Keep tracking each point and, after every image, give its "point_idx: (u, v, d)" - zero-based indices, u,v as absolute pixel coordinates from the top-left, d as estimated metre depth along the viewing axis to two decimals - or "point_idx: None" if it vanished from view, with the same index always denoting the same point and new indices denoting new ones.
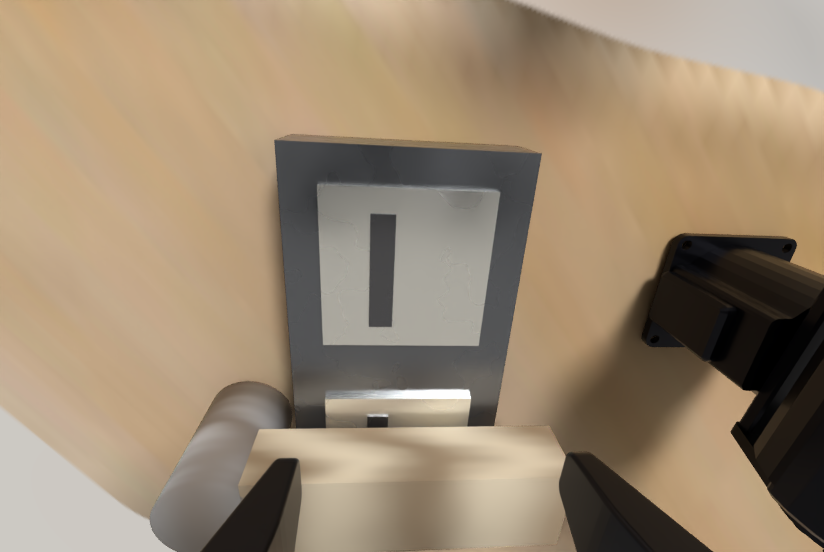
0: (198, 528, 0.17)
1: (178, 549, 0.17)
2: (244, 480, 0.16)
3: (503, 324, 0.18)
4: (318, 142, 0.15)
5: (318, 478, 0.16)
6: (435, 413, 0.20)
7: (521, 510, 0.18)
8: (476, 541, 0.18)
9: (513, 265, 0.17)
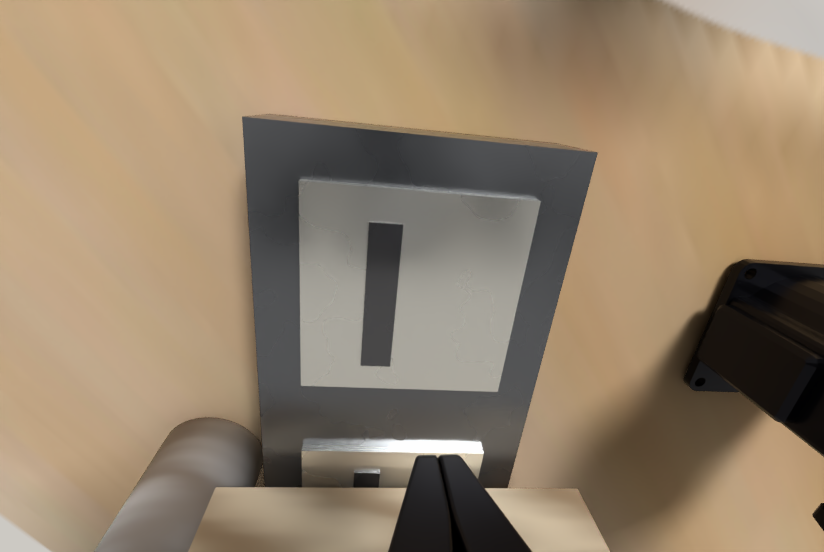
0: None
1: None
2: None
3: (529, 366, 0.15)
4: (302, 123, 0.11)
5: None
6: None
7: None
8: None
9: (548, 294, 0.13)
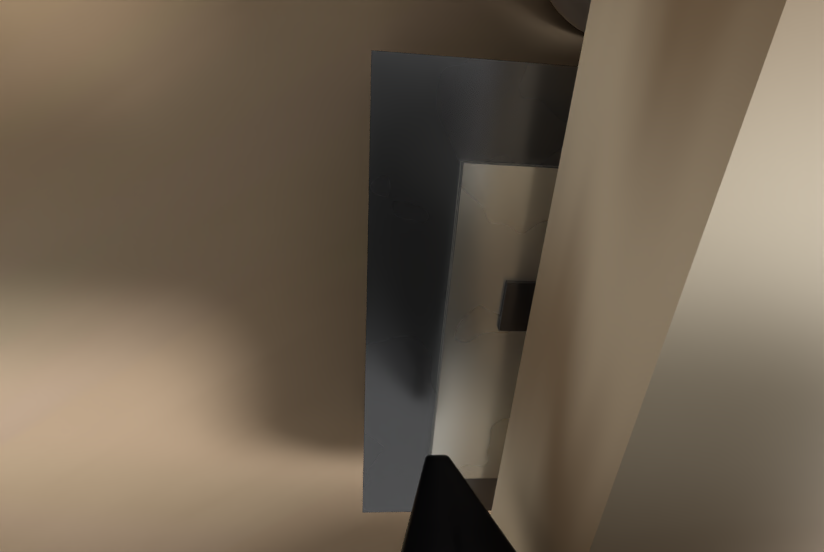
0: None
1: None
2: None
3: None
4: None
5: None
6: None
7: None
8: None
9: None
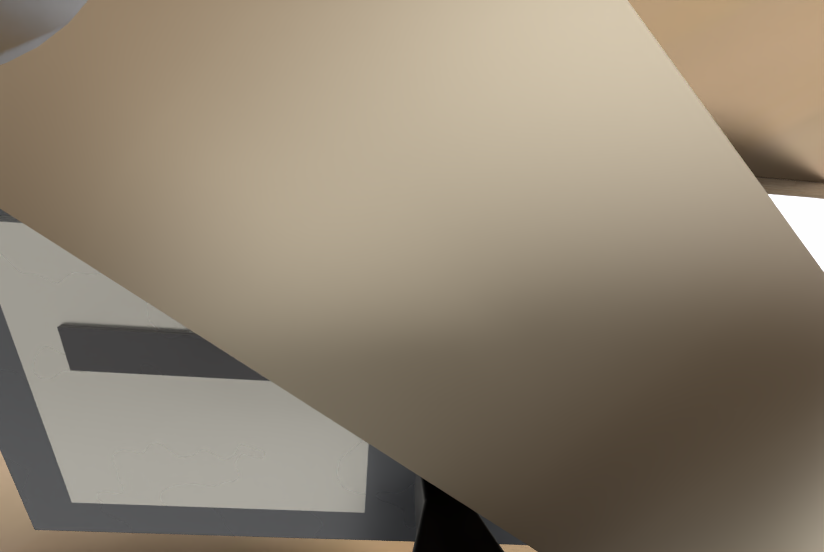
0: None
1: None
2: None
3: (509, 535, 0.11)
4: None
5: None
6: (327, 462, 0.09)
7: None
8: None
9: None
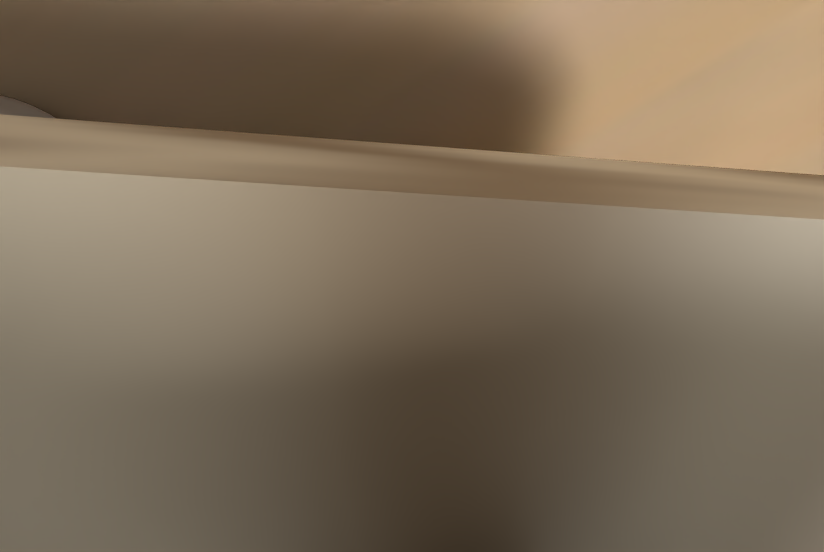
0: None
1: None
2: None
3: None
4: None
5: None
6: None
7: None
8: (655, 538, 0.05)
9: None
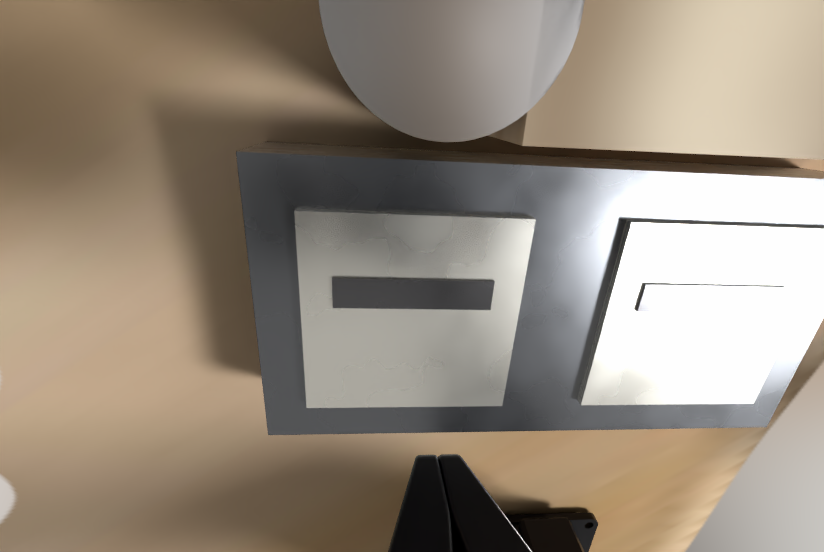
0: (431, 17, 0.07)
1: (370, 98, 0.07)
2: None
3: (595, 422, 0.16)
4: None
5: None
6: (483, 368, 0.14)
7: None
8: None
9: (663, 421, 0.16)
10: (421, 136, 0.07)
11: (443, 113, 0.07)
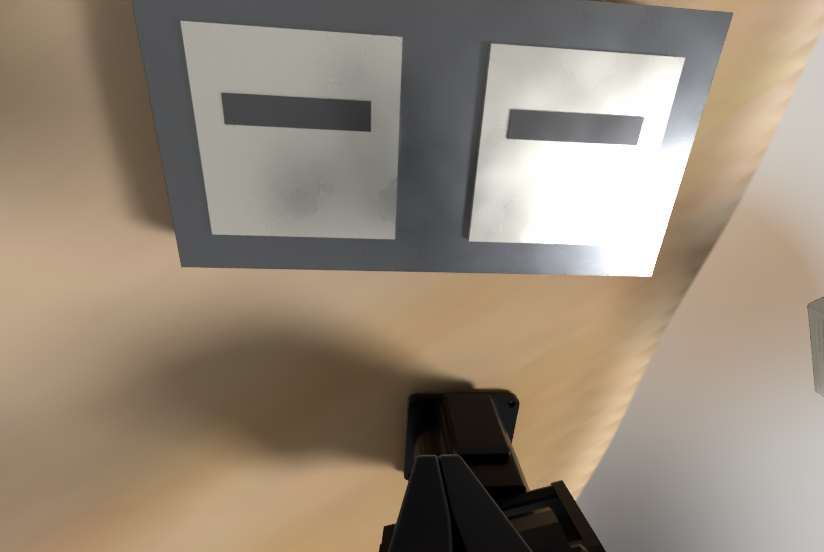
0: None
1: None
2: None
3: (487, 264, 0.17)
4: (715, 63, 0.15)
5: None
6: (372, 196, 0.15)
7: None
8: None
9: (552, 266, 0.17)
10: None
11: None
